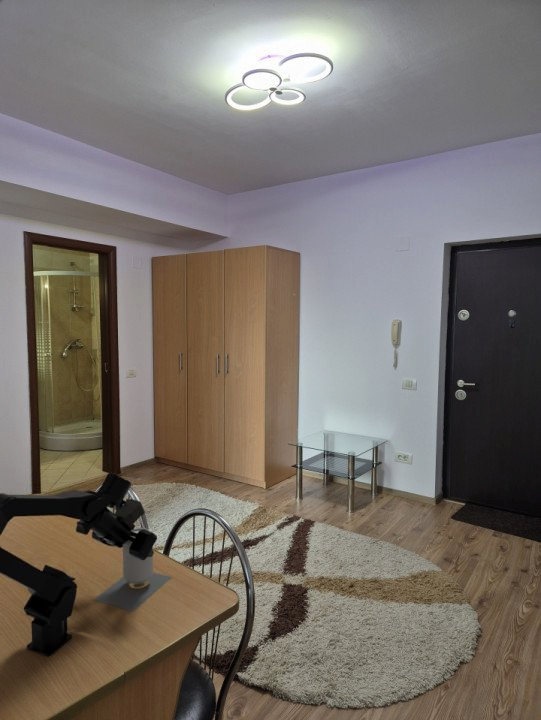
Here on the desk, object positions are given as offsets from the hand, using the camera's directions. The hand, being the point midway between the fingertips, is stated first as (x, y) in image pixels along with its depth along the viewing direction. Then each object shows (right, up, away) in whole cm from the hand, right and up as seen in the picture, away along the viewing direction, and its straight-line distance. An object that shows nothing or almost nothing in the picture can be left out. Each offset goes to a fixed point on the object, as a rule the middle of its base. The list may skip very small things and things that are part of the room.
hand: (142, 550), depth 122 cm
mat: (-1, -9, -2) cm, 10 cm away
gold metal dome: (-1, -9, 0) cm, 9 cm away
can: (-1, -7, -1) cm, 7 cm away
